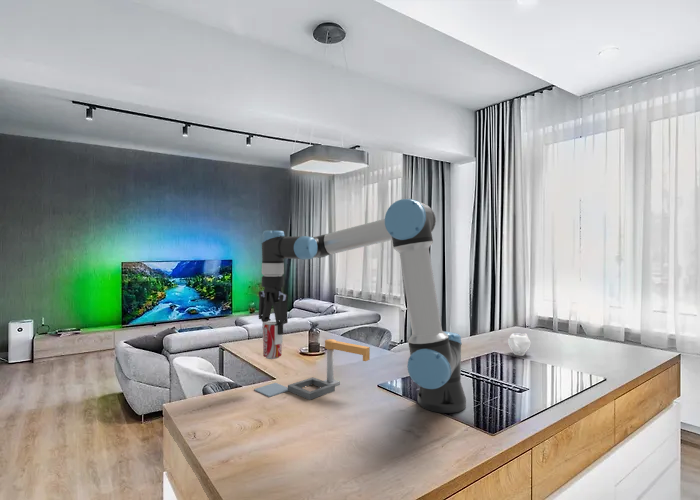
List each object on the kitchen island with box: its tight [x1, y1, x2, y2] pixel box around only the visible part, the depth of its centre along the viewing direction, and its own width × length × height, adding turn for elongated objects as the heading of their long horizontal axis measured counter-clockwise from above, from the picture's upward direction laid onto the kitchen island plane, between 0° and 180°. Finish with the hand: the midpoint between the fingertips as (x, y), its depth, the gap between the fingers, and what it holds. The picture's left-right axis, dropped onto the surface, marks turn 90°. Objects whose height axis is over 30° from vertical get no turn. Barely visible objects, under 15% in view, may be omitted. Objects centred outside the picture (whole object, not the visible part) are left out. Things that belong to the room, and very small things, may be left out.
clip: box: [324, 338, 371, 362], centre depth 143 cm, size 4×18×4 cm, turn 55°
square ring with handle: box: [287, 349, 341, 401], centre depth 143 cm, size 12×17×13 cm
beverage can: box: [262, 321, 283, 360], centre depth 141 cm, size 6×6×12 cm
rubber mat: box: [253, 382, 289, 398], centre depth 141 cm, size 9×9×1 cm
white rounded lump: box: [507, 332, 531, 357], centre depth 189 cm, size 10×20×9 cm, turn 135°
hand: (272, 341), depth 141 cm, fingers closed on beverage can, 6 cm apart
